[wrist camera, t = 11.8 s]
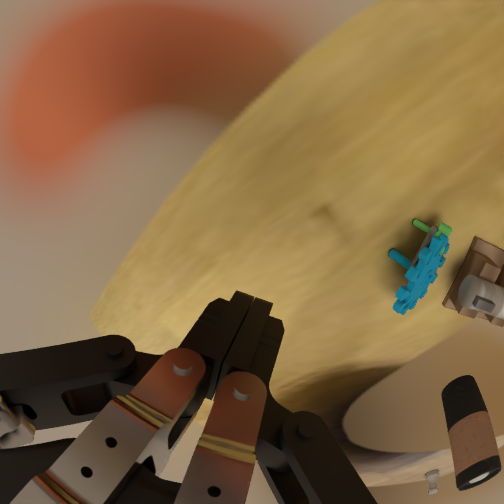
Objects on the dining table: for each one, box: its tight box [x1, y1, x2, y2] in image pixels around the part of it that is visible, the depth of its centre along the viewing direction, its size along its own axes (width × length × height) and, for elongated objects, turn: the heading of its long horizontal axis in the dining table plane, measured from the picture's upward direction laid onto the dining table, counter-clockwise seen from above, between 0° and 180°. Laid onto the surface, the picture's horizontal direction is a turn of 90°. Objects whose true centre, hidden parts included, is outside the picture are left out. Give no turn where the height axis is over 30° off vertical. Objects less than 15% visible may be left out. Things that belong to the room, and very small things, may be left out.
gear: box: [389, 219, 452, 315], centre depth 27 cm, size 11×6×10 cm
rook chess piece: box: [425, 470, 439, 495], centre depth 46 cm, size 4×4×8 cm
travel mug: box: [442, 375, 501, 491], centre depth 26 cm, size 8×8×20 cm
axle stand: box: [442, 237, 504, 327], centre depth 24 cm, size 12×10×8 cm
